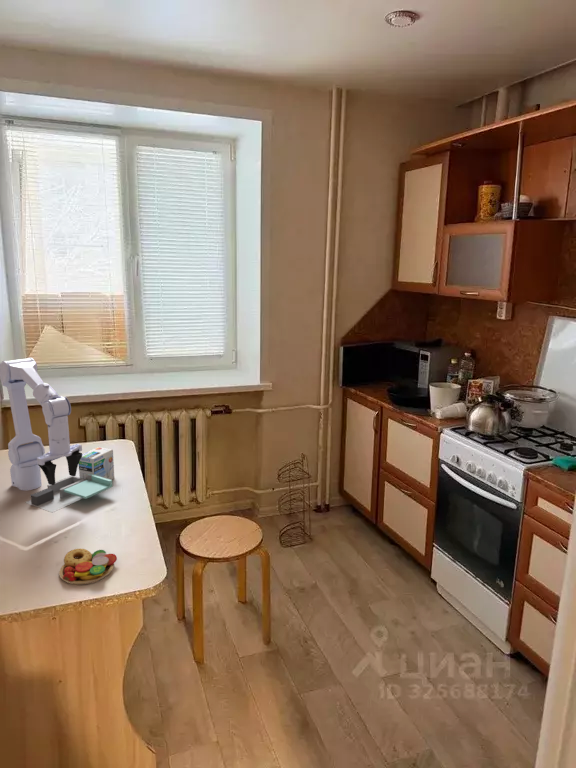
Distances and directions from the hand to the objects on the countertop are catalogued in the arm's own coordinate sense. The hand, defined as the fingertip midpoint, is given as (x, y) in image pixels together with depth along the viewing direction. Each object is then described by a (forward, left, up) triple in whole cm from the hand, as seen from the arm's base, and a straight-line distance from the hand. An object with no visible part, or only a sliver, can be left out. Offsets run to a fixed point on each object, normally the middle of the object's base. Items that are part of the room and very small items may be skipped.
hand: (62, 479), depth 165 cm
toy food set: (+33, -19, -11) cm, 40 cm away
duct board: (-7, +5, -10) cm, 13 cm away
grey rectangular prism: (-9, -1, -9) cm, 13 cm away
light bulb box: (-8, +20, -10) cm, 24 cm away
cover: (+1, +8, -6) cm, 10 cm away
